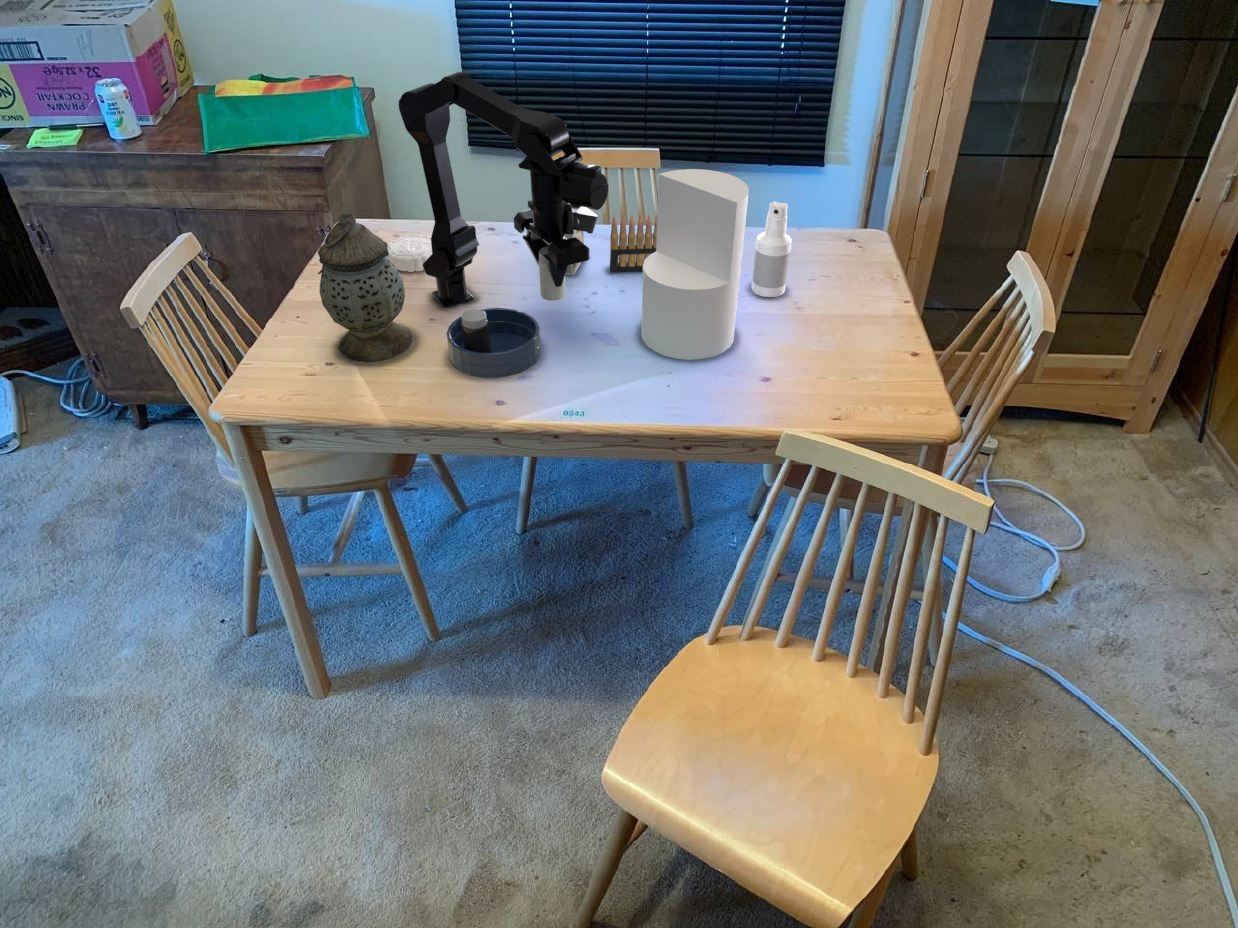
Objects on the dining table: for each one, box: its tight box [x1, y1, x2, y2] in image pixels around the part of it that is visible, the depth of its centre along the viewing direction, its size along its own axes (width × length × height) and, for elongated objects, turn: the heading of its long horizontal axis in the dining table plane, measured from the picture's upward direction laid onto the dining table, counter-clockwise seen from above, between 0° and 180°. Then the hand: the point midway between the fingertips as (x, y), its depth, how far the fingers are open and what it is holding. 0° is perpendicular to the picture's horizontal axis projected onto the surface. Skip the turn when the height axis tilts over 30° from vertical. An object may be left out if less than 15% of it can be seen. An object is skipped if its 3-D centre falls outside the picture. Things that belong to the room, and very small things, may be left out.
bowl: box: [446, 307, 542, 378], centre depth 151 cm, size 16×16×5 cm
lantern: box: [317, 211, 415, 363], centre depth 147 cm, size 14×14×25 cm
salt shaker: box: [538, 247, 567, 302], centre depth 153 cm, size 5×5×8 cm
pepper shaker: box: [460, 308, 491, 353], centre depth 149 cm, size 5×5×8 cm
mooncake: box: [386, 234, 432, 273], centre depth 181 cm, size 12×12×4 cm
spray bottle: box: [750, 200, 793, 298], centre depth 166 cm, size 7×7×18 cm
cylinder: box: [640, 168, 750, 361], centre depth 149 cm, size 17×17×28 cm
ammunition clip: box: [609, 214, 657, 274], centre depth 175 cm, size 11×2×12 cm, turn 94°
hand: (552, 280), depth 154 cm, fingers closed on salt shaker, 4 cm apart
